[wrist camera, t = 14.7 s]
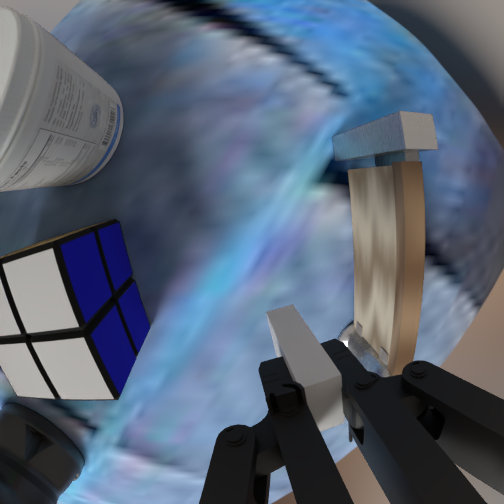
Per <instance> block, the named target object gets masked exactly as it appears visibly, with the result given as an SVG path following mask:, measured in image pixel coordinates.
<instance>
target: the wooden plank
mask: <svg viewBox="0 0 504 504" xmlns="http://www.w3.org/2000/svg"><path fill="white" fill-rule="evenodd" d="M348 177H349V187H350V198H351V211H352V226H353V246H354V327H355V328H356V332H357V333H358V334H359V335H360V336H361V337H364V338H365V339H366V341H367V342H368V343H369V344H370V345H371V346H372V347H373V348H374V350H375V351H376V352H377V353H378V354H379V358H380V359H381V360H382V361H383V363H384V364H385V365H388V368H387V370H388V371H389V372H390V374H391V375H392V376H395V375H400V374H402V370H403V368H404V367H405V366H406V365H407V364H409V363H410V362H413V359H414V353H415V347H416V341H417V335H418V328H419V321H420V312H421V303H422V293H423V280H424V262H425V203H424V185H423V172H422V162H421V161H399V162H392V166H382V167H370V168H360V169H350V170H348Z"/></svg>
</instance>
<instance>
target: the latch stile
mask: <svg viewBox="0 0 504 504" xmlns="http://www.w3.org/2000/svg"><path fill="white" fill-rule="evenodd" d="M332 143H333V150H334V157H335V161H345V160H362V159H368V158H375V163H376V167H382V166H392V162H399V161H419V153H418V152H420V151H429V150H438V146H437V139H436V133H435V127H434V121H433V116H432V114H424V113H416V112H405V111H398V112H395V113H393V114H390V115H387V116H384V117H382V118H379V119H377V120H374V121H371V122H369V123H366V124H364V125H361V126H358V127H356V128H353V129H351V130H348V131H346V132H344V133H341V134H339V135H336V136H334V137H332Z"/></svg>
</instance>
